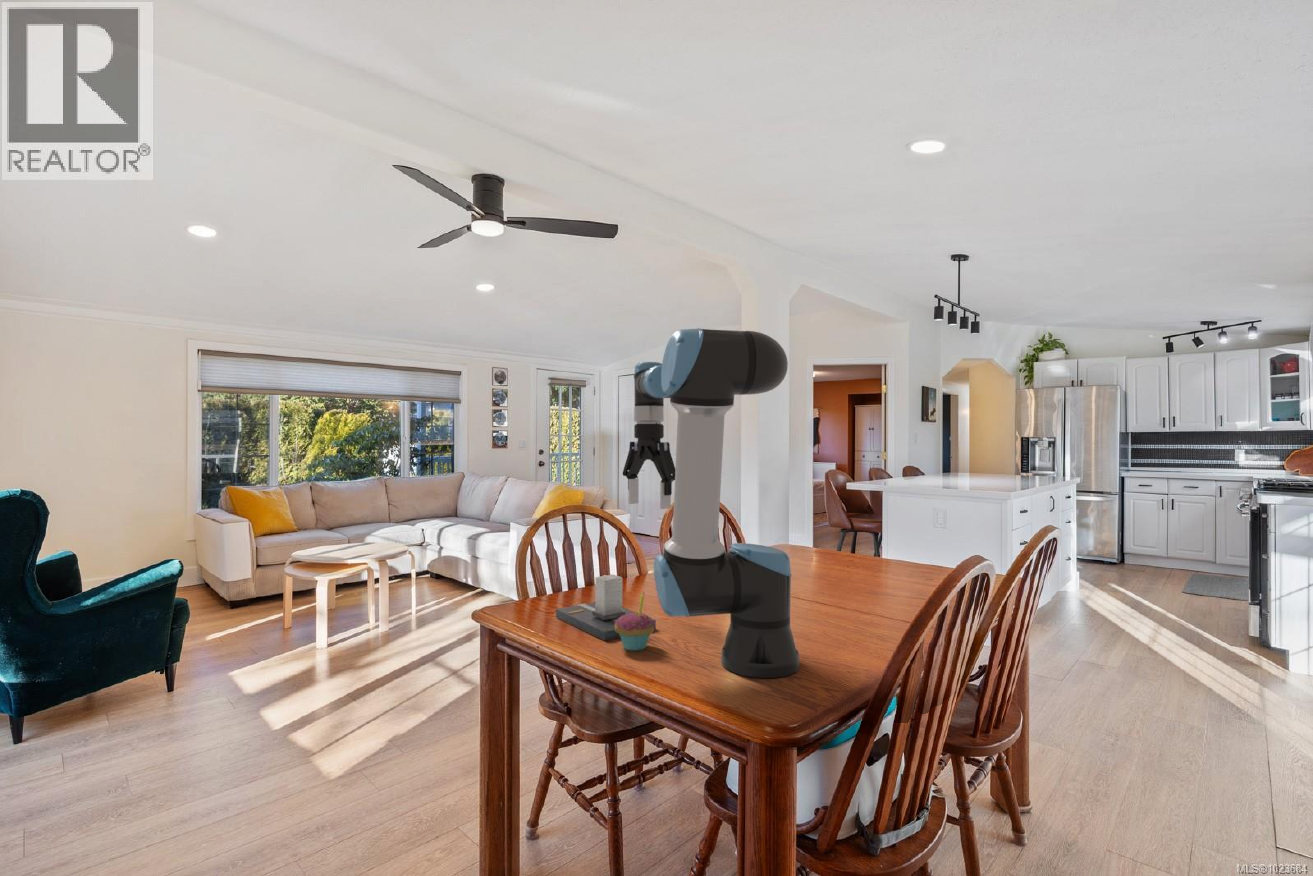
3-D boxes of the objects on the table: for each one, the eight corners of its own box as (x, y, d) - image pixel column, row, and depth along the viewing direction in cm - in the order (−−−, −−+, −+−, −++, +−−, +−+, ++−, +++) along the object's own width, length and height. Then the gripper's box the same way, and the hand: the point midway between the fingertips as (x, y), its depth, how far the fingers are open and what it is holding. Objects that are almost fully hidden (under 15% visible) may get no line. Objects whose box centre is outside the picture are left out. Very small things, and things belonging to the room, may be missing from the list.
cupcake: (659, 642, 138) (659, 587, 138) (648, 655, 130) (648, 597, 130) (621, 639, 141) (621, 584, 141) (608, 651, 133) (608, 594, 132)
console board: (655, 629, 148) (655, 619, 148) (604, 641, 139) (604, 631, 139) (604, 607, 165) (604, 599, 165) (556, 617, 157) (556, 608, 157)
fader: (625, 615, 150) (625, 576, 150) (603, 620, 147) (603, 580, 147) (613, 610, 154) (613, 573, 154) (592, 615, 151) (592, 576, 151)
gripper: (692, 422, 156) (691, 509, 156) (632, 423, 176) (632, 500, 176) (668, 422, 151) (667, 511, 152) (609, 423, 171) (609, 502, 171)
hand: (648, 506), depth 164 cm, fingers open, 13 cm apart
